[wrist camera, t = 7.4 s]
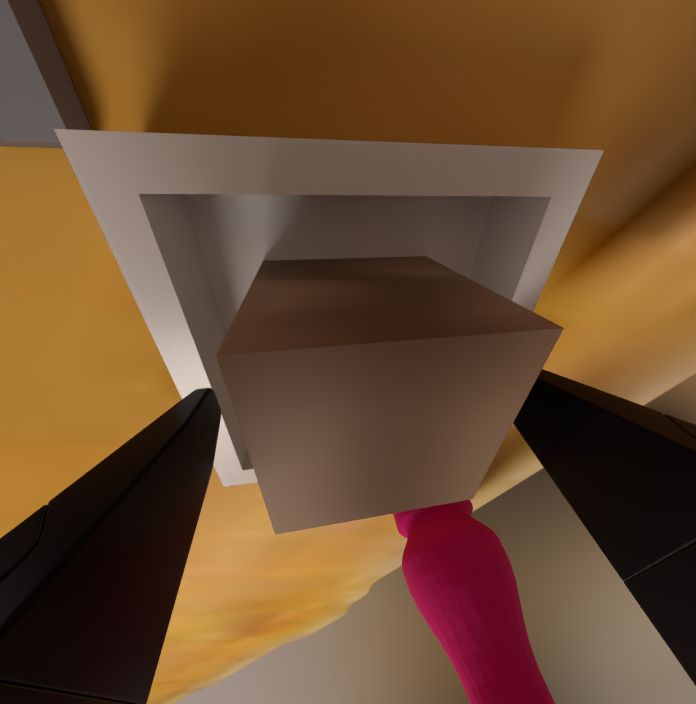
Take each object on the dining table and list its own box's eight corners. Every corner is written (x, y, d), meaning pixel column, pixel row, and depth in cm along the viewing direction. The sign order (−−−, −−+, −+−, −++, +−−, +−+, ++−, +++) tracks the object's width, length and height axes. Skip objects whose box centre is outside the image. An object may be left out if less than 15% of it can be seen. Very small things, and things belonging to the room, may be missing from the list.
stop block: (284, 390, 12) (275, 534, 7) (263, 260, 9) (215, 355, 4) (404, 378, 13) (472, 499, 8) (425, 256, 10) (563, 327, 5)
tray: (237, 432, 14) (223, 487, 11) (139, 150, 7) (53, 128, 5) (443, 407, 15) (471, 449, 13) (517, 161, 9) (603, 150, 6)
